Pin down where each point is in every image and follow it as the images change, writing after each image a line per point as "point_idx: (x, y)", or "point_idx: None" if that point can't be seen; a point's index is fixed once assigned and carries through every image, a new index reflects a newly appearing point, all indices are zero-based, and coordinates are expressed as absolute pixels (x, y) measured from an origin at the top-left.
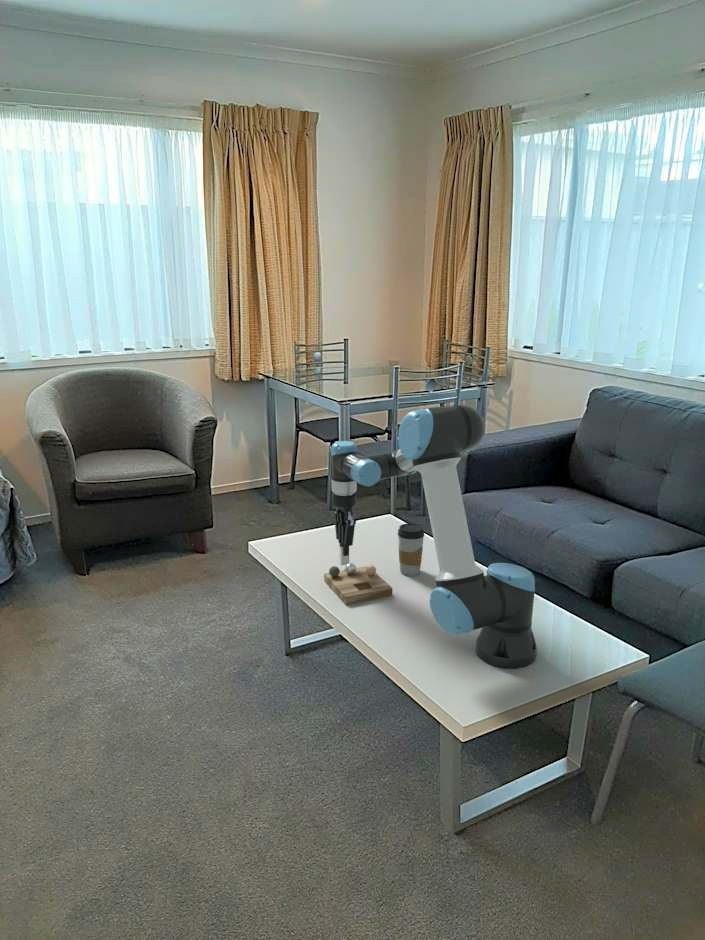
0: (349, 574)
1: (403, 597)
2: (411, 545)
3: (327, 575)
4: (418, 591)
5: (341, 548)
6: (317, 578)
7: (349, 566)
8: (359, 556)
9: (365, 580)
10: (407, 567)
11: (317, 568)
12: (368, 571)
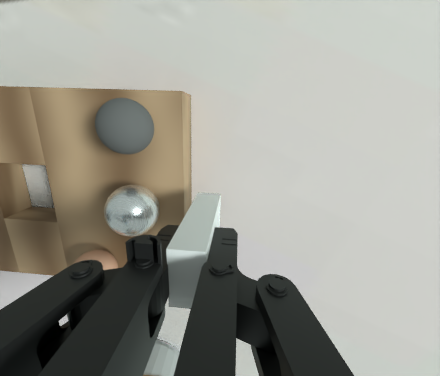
0: None
1: (9, 272)
2: None
3: (157, 98)
4: None
5: (172, 239)
6: (228, 77)
7: (106, 205)
8: (333, 303)
9: (68, 222)
10: None
11: (323, 120)
12: (78, 258)
